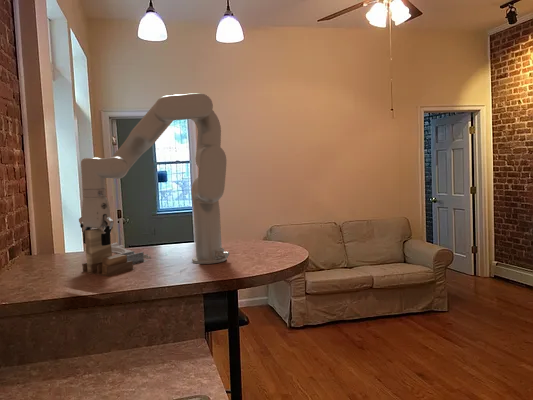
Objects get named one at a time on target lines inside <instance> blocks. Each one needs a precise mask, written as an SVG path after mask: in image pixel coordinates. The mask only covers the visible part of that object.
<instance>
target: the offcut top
mask: <svg viewBox="0 0 533 400" xmlns="http://www.w3.org/2000/svg"><path fill="white" fill-rule="evenodd" d="M114 255H115V256H113V255H112V256H110V257H106V258H102V264H103V266H107V267H108V266H112V265H116V264H120V263H124V262H127V255H121V254H119V255H118V254H114Z"/></svg>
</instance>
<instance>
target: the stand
mask: <svg viewBox="0 0 533 400" xmlns="http://www.w3.org/2000/svg"><path fill="white" fill-rule="evenodd" d="M134 252H135V251H134V250H131V252H126V253H122V254H121V255H127V262H128V261H133V266H134V265H137V264H140V263H141V264H142V263H145V262H149V261H150V260H149V259H145V258H144V254H145V253H144V251H140V252H135V254H134ZM115 255H116V254H112V256H115ZM117 255H119V254H117Z"/></svg>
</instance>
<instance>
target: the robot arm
mask: <svg viewBox="0 0 533 400" xmlns="http://www.w3.org/2000/svg"><path fill="white" fill-rule="evenodd" d="M213 108H214V105H213V101H212V99H211V97H210V96H209V95H207V94H205V93H202V92H200V93H199V92H198V93H195V92H193V93H185V94H173V95H172V94H171V95H164V96H161V97H159V98H158V99H157V100H156V102H155V103H154V104H153V105H152V106H151V108H150V109H149V110H148V111H147V112H146V113H145V115H144V116H143V117H142V118H141V119H140V121H138V122H137V124H136V125H135V126H134V127H133V128H132V129H131V131H130V132H129V134H128V136H127V137H126V139H125V141H123V143H122V144H121V145H120V146H119V148H118V149H117V150H116V152H115V153H113V155H112V156H111V157H106V158H105V157H103V158H101V157H84V158H82V160H80V169H81V173H80V174H81V187H82V188H81V192H82V193H81V194H82V202H81V203H82V205H81V217H79V218H78V222H79V224H80V225H79V226H80V228H81V233H82V237H83V240H82V241H83V244H84V245H86V244H85V230H91V229H97V228H100V230H101V232H102V233H103V234H101V244H102V246H105V245H110V244H112V242H111V243H110V235H111V234H112V230H113V228H114V227H113V226H114V222H115V220H113V219H112V216H111V207H110V203H109V199H108V197H107V186H106V185H107V184H106V183H107V182H106V179H115V180H119V179H123V178H124V177H125V176H126V175H127V174H128V172H129V170H130V169H131V168H132V167H133V165H134V164H135V163H136V162H137V161H138V160H139V158H140V157H142V155H143V154H144V153H146V152H147V151H148V150H149V149H150V148H151V147H152V146H153V145H154V144H155V143H156V142H157V141H158V139H159V138H160V137H161V136H162V135H163V133H165V131H166V130H167V128H168V127H169V126H170V125H171V124H172V123H174V121H182V120H183V121H184V120H192V121H193V123H194V124H195V125H196V130H197V138H196V140H197V141H196V152H195V163H196V164H195V165H196V166H197V167H198V174H197V175H198V177H197V178H195V179H194V180H193V182H192V184H191V200H192V207H193V220H194V223H193V224H194V239H195V242H194V243H195V255H196V256H194V257H192V259H191V262H192V263H194V264H196V265H197V264H199V265H208V264H209V265H212V264H213V265H214V264H217V263H222V262H225V261H226V260H227V259H228V257H230V252H229V251H225V248H224V247H222V228H221V227H222V226H221V209H220V208H221V207H220V201H219V200H221V198H222V197H223V195H224V192H225V186H226V175H227V155H226V152H225V151H224V150H223V148H222V147H221V142H222V140H221V139H222V127H221V121H220V120H219V117H218V116H217V113H215V111H214V109H213ZM104 228H105V229H104Z"/></svg>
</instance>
